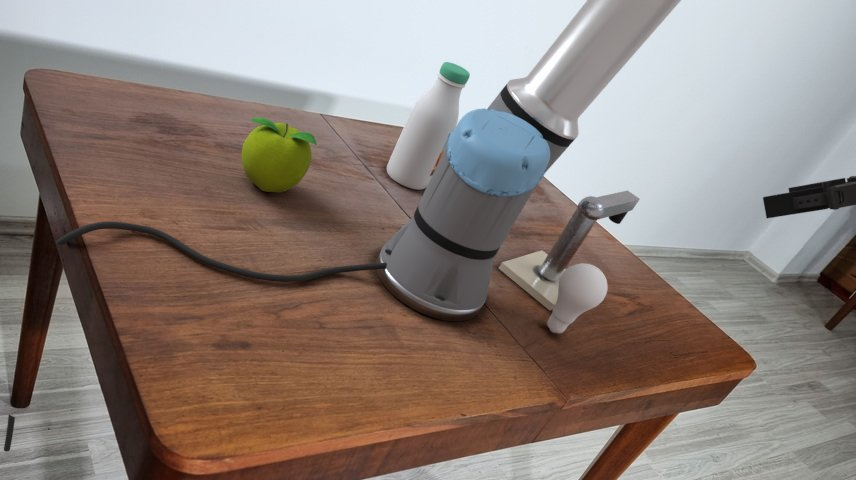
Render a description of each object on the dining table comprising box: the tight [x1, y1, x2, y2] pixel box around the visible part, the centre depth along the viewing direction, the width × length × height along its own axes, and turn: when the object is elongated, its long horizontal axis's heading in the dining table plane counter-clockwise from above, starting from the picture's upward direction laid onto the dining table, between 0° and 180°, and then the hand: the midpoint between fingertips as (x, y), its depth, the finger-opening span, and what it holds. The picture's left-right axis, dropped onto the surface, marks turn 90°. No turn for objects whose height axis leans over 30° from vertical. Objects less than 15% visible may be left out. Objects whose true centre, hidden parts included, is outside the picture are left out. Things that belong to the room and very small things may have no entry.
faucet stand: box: [498, 249, 567, 311], centre depth 107 cm, size 12×10×1 cm
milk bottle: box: [386, 61, 471, 190], centre depth 114 cm, size 8×8×20 cm
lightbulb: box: [546, 262, 608, 334], centre depth 94 cm, size 6×6×11 cm
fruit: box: [240, 116, 317, 193], centre depth 97 cm, size 9×9×10 cm
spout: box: [539, 190, 640, 281], centre depth 107 cm, size 16×4×14 cm, turn 133°
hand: (778, 202), depth 94 cm, fingers open, 12 cm apart
